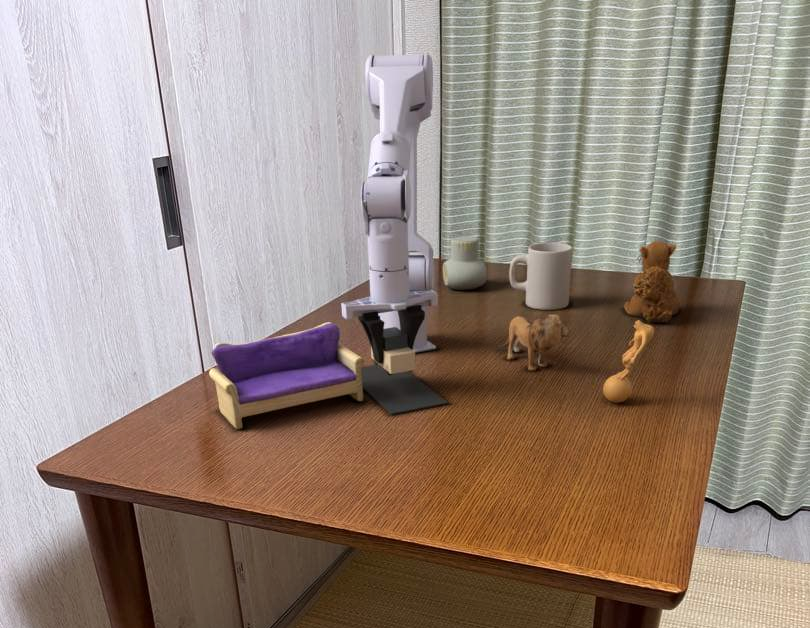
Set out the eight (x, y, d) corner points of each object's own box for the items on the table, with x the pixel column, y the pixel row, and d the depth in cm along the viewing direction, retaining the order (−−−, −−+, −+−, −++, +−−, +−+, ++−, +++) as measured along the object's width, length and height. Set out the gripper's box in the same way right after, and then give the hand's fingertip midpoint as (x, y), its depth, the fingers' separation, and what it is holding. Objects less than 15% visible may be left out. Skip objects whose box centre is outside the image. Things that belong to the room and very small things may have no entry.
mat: (344, 372, 132) (344, 370, 132) (395, 363, 135) (395, 361, 135) (391, 415, 116) (391, 413, 116) (447, 404, 119) (447, 402, 119)
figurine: (602, 390, 122) (610, 310, 116) (643, 392, 121) (654, 312, 114) (601, 411, 115) (610, 328, 109) (645, 414, 114) (656, 330, 107)
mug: (569, 299, 165) (573, 242, 159) (567, 310, 158) (572, 252, 152) (510, 297, 167) (512, 242, 161) (506, 309, 160) (508, 251, 154)
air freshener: (441, 282, 179) (441, 234, 174) (478, 279, 180) (479, 232, 175) (449, 294, 170) (449, 245, 165) (488, 292, 171) (489, 243, 166)
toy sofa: (232, 432, 113) (221, 361, 107) (214, 411, 119) (203, 343, 114) (367, 402, 121) (364, 334, 115) (344, 384, 127) (339, 319, 122)
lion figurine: (570, 370, 130) (574, 314, 125) (545, 377, 127) (548, 321, 122) (510, 347, 140) (512, 295, 135) (486, 353, 138) (487, 300, 133)
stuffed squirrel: (675, 306, 158) (686, 236, 151) (684, 328, 146) (695, 253, 139) (623, 306, 159) (631, 236, 152) (627, 327, 148) (635, 252, 141)
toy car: (371, 362, 126) (369, 328, 124) (395, 358, 128) (393, 324, 125) (391, 378, 120) (389, 342, 117) (415, 373, 121) (414, 338, 118)
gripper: (350, 279, 111) (356, 374, 118) (446, 266, 115) (446, 359, 122) (334, 268, 116) (340, 360, 123) (426, 257, 121) (427, 346, 128)
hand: (392, 359), depth 123 cm, fingers closed on toy car, 4 cm apart
